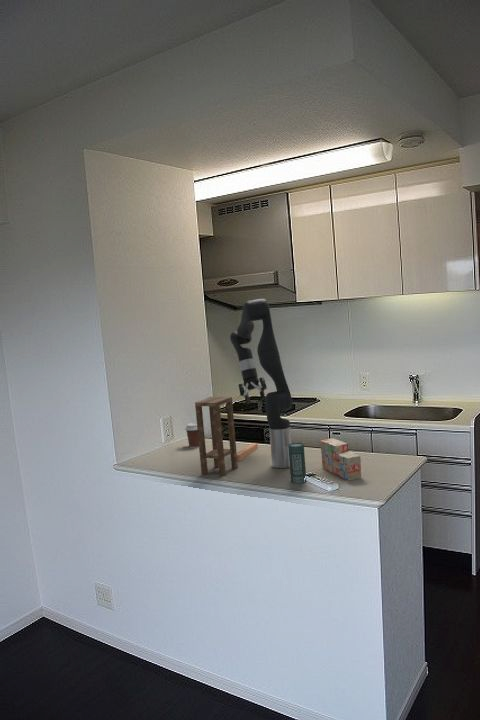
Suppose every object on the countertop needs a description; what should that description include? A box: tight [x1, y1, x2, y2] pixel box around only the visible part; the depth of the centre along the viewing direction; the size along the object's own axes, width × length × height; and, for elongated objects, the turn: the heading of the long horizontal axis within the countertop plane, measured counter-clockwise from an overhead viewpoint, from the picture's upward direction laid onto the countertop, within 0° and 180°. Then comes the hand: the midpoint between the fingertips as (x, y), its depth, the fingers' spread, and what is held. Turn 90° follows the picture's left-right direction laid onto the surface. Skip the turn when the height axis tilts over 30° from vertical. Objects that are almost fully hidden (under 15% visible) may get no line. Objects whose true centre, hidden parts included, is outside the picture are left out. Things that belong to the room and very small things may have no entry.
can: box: [288, 442, 307, 484], centre depth 227 cm, size 6×6×15 cm
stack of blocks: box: [320, 437, 362, 482], centre depth 233 cm, size 21×6×12 cm, turn 20°
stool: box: [194, 396, 239, 477], centre depth 248 cm, size 11×13×32 cm
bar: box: [236, 442, 259, 462], centre depth 274 cm, size 21×3×3 cm, turn 154°
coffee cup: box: [184, 422, 199, 449], centre depth 296 cm, size 9×9×12 cm
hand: (255, 401), depth 277 cm, fingers open, 8 cm apart
